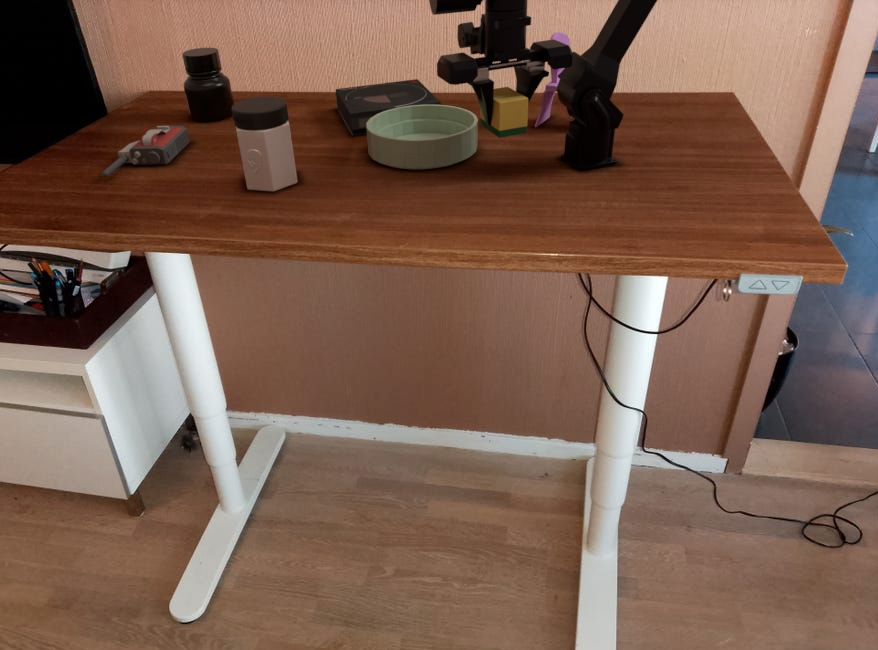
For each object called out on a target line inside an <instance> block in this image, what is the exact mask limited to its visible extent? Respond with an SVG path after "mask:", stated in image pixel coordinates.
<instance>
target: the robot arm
mask: <svg viewBox="0 0 878 650" xmlns="http://www.w3.org/2000/svg"><path fill="white" fill-rule="evenodd" d="M428 1H429V7H430V11H431V13H432V15H434V16H436V15H445V14H447V15H448V14H457V13H467V12H475V11H476V10H477V7H478V6H481V5H482V2H483V1H484V13H482V14H481V16H480V25H479V26H475V25H474V22H473V21H467V22H461V23H459V24H458V25H457V43H458V47H459V48H460V49H465V48H469V51H470V55H468V54H467V53H465V52H456V53H449V54H442V55H440V57H439V58H438V61H437V63H436V76H437V77H438V78H440V79H441V80H443V81H444V82H446V83H447V84H448V85H453V86H457V85H463V84H468V85H469V86H471V88H472V90H473V92H474V93H475V95H476V99H477V101H478V104H479V108H480V107H481V110H482V113H483V116H484V119H485V122H486V124H487V125H491V121H492V115H493V95H494V89H495V81H494V80H492V79H491V78H490V72H491V71H497V70H503V69H510V68H513V70H514V74H515V79H516V85H515V91H516V92H518V93H520V94H522V95H523V96H525V97H527V98H528V104H529V103H530V102H531V100H532V98H533V96H534V94H535V92H536V90H537V89H538V87H539V86H540V85H541V83H542V81H543V79H544V78H547V77H549V76H550V72H549V71H548V70H546V69H545V67H546V63H547V65H548V66H549V67H550V69H551V68H552V69H554V70H555V69H561V68H564V69H563V71H562V72H561V73H560V74H559V75H558V78H560V81H559V83H558V86H557V91H556V94H557V98H558V100H559V102H560V103H561V104H562V105H563V106H564V107H565V108H566V111H567V115H568V116H569V117H572V118H573V120H570V121H569V122H568V131H567V132H566V133H565V138H564V139H565V140H564V153H561V155H560V158H561V159H563V160H565V161H566V162H567V163H568V164H571V166H573V167H575V168H576V169H578V170H580V171H585V170H589V169H590V170H591V169H596V168H601V167H607V166H612V165H616V164H617V163H618V159H616V158H615V157H613V149H614V142H615V141H614V140H615V132H616V130H617V129H619V127H620V124H621V123H622V121H623V118H624V113H623V112H622V111H621V110H620V109H619V107H617V105H616V104H614V103H613V102H612V100H611V99H612V96H613V94H614V92H615V89H616V86H617V83H618V78H619V71H620V66H621V65H620V64H621V63H622V60H623V58H624V57H625V55H626V54H627V52H628V50H629V48H630V47H631V45H632V43H633V42H634V40H635V39H636V37H637V35H638V33H639V32H640V31H641V29H642V28H643V25H644V24H645V22H646V21H647V19H648V17H649V15H650V14H651V12H652V11H653V9H654V7H655V5H656V4H657V2H658V0H617V2H616V4H615V5H614V6H613V9H612V11H611V12H610V14H609V16H608V17H607V20H606V21H605V23H604V24H603V26H602V28H601V29H600V31H599V33H598V35H597V37H596V38H595V39H594V42H593V44H591V46H590V47H589V48H588V49H587V50H585V51H584V52H583V53H582V54H579V53H577V52H575V51H573V50H572V48H571V46H570V47H569V45H566V44H564V43H561V42H559V41H557V40H554V39H553V40H550V39H548V40H541V41H540V40H539V41H533V42H532V43H531V45H530V47H529V48H528V47H527V27H528V26H531V25H532V16H530V15H528V2H529V1H528V0H428ZM478 54H479V55H484V56H482V57H472V56H471V55H478Z"/></svg>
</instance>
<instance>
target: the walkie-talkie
mask: <svg viewBox="0 0 878 650" xmlns="http://www.w3.org/2000/svg"><path fill="white" fill-rule="evenodd" d="M190 142H191V141H190V136H189V132H188V129H187V127H185V126H184V125H156V128H153V129H149V130H148V131H146V132H145V133H144V134H143V135H142V136H141V138H140V140H136V141H134V142H130V143H128V144H127V145H125V147H123V148H122V149H120V150H119V151H117V155H118V158H117V159H116V160H115V161H114V162H113V163H111V164H110V165H109V166H108V167H106V169H104V170H103V171H102V172H101V175H102V177H104V178H108V177H109V176H110V175H111V174H113V173H114V172H115V171H116V170H118V168H121V166H122V165H124V164H132V165H135V166H165V165H168V164H169V163H170V162H171V161H172V160H173V159H174V158H176V156H178V155H179V154H180V153H181V152H182V151H183V150H184V149H185V148H186V147H187V146H188V145H189V144H190Z"/></svg>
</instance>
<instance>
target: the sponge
mask: <svg viewBox="0 0 878 650" xmlns="http://www.w3.org/2000/svg"><path fill="white" fill-rule="evenodd" d="M479 118H480V119H479V121H480V122H479V123H480V124H479V125H480V126H482V127H483V128H484V129H486V130H487V131H489V132H490V133H492V134H493V135H494V136H496V137H497V138H499V139H501V138H506V137H512V136H517V135H523V134H528V122H529V121H528V120H529V119H528V118H529V103H528V98H527V97H525V96H523V95H522V94H520V93H518V92H516V90H515V89H513V88H511V87H509V86H504V87H497V88H494V95H493V115H492V121H491V125H487V124H486V122H485V119H484V116H483V113H482V110H481V107H480V106H479Z"/></svg>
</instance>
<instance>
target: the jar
mask: <svg viewBox="0 0 878 650" xmlns="http://www.w3.org/2000/svg"><path fill="white" fill-rule="evenodd" d="M232 113H233V114H232V121H233V123H234V124H233V125H234V126H235V130H236V137H237V142H238V147H239V148H238V149H239V152H240V159H241V163H242V167H243V168H242V169H243V174H244V180H245V184H246V185H245V186H246V189H247V190H249V191H261V192H272V193H273V192H276V191H279V190H282V189H285V188H288V187H290V186H293V185H296V184H297V183H298V176H297V175H298V174H297V167H296V160H295V153H294V146H293V140H292V133H291V127H290V122H289V112H288V104H287V101H286V100H285V99H284V98H282V97H278V96H256V97H250V98H246V99H243V100H240V101H237V102H236V103H234V105H233V106H232Z"/></svg>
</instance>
